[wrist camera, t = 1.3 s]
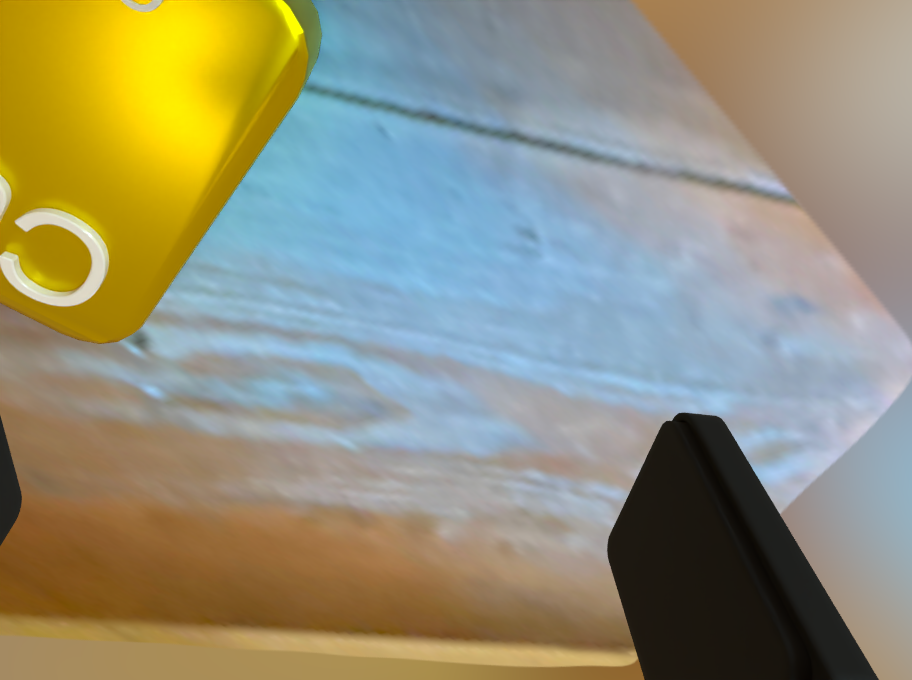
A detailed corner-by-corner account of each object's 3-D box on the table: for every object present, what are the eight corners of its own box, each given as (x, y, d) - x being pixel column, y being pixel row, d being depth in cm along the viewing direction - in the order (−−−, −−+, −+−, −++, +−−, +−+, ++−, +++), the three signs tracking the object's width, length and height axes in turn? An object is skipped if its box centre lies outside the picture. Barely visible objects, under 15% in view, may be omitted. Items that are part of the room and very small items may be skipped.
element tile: (347, 18, 23) (335, 45, 19) (151, 307, 29) (111, 373, 25) (-141, -395, 17) (-309, -484, 13) (-262, 81, 23) (-401, 122, 19)
